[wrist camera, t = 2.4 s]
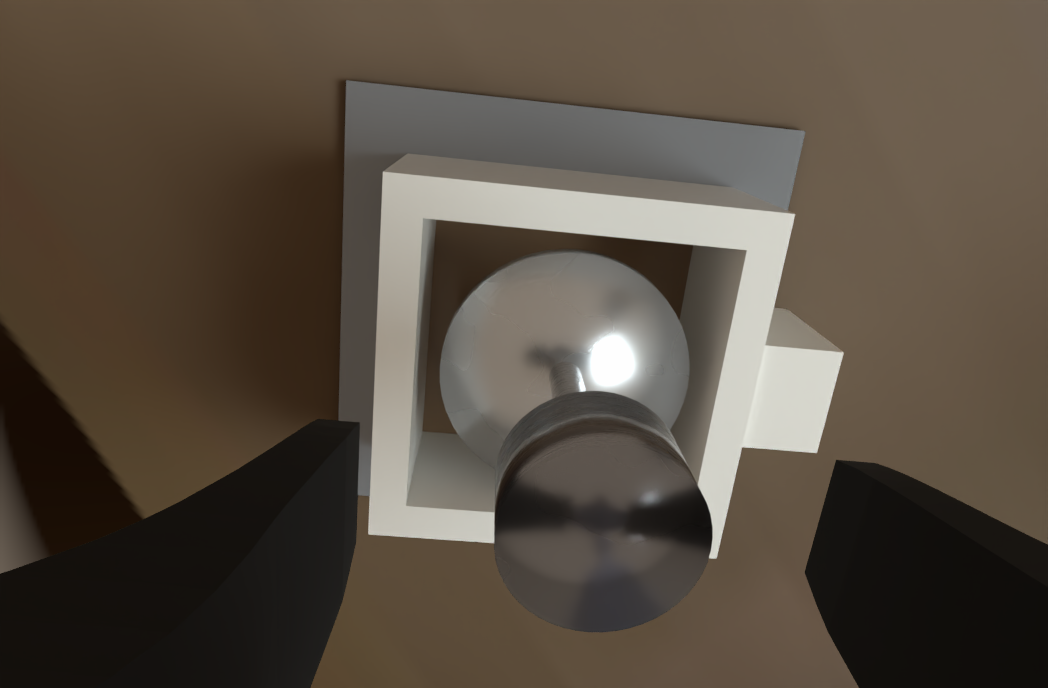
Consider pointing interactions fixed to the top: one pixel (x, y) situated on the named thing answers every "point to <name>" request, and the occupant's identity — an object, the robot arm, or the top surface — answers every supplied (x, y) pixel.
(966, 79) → the top surface
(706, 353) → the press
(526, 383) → the plunger
